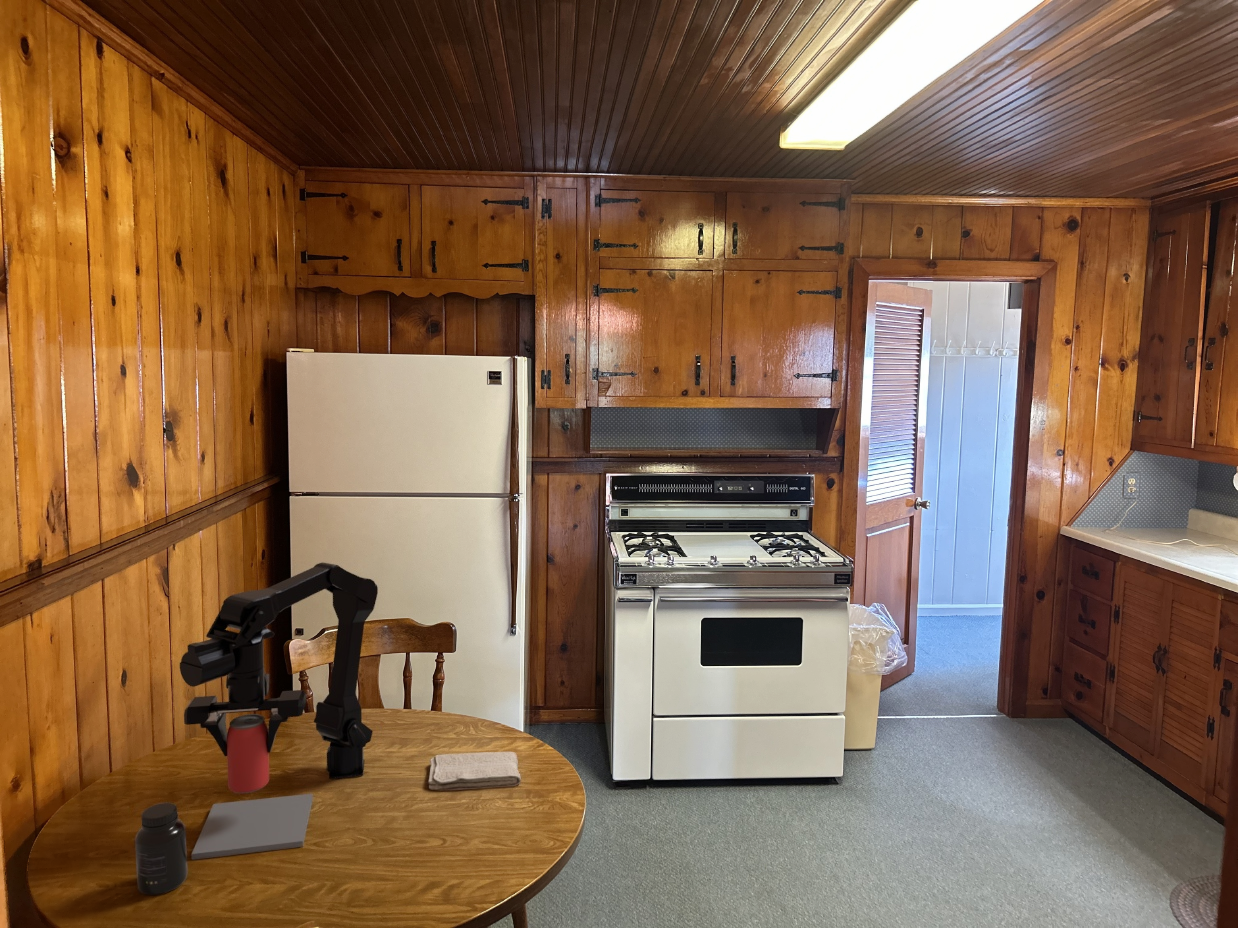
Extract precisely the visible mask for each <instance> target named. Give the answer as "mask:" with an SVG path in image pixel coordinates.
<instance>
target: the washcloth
mask: <svg viewBox="0 0 1238 928" xmlns="http://www.w3.org/2000/svg"><path fill="white" fill-rule="evenodd" d="M429 762H430V771H429V777H428V788H429V790H432V791H433V790H434V791H436V790H437V791H459V790H475V789H477V790H478V789H489V788H505V787H515V786H516V787H517V786H518V785H520V784H521V782H522V777H521V774H520V772H519V770H518V769H519V760H518V755H517V753H516V752H514V751H497V752H495V751H491V752H490V751H487V752H486V751H485V752H469V753H468V752H466V753H464V752H463V753H448V754H447V753H445V754H437V755H434V757H433V758H431V759H430V760H429Z"/></svg>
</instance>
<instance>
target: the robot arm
mask: <svg viewBox="0 0 1238 928" xmlns="http://www.w3.org/2000/svg"><path fill="white" fill-rule="evenodd" d="M378 588H379V587H378V585H377V584H376V583H375V581H374V579H371V578H366V577H362V576H359V575H356V574H354V573H353V572H350V571H348V570H347V569H344V567H341V566H339V565H338V564H334V563H328V562H324V561H323V562H318V563H316V564H315V565H314V566H313V567H311V568H309V569H307V570H304V571H302V572H300V573H298V574H295V575H292V576H291V577H289V578H287V579H284V580H282V581H280V582H278V583H276V584H274V585H271V586H269V587H267V588H263V589H256V590H254V589H253V590H246V591H244V592H243V591H242V592H238V593H236V594H231V595H230V596H229V595H228V597H226V598H225V599H224V600H223V601H222V605H221V607H220V611H219V612H218V613H217V615H216V617H215V619H214V620H213V622H212V624H211V626H210V628H209V629H208V632H207V633H206V635H205V636H206V638H207V639H206V640H203V641H200V642H199V641H198V642H193V643H189V644H188V645H187V651H186V652H185V653H184V654H183V655H182V657H181V660H180V662H179V671H180V675H181V677H182V679H183V681H184V682H185V683H186V684H187V685H188V686H190V687H192V688H193V687H199V686H201V685H203V684H206V683H210V682H211V681H215V680H218V679H220V678H223V677H226V681H225V688H226V689H227V690H228V693H227V694H228V701H220V702H218V697H217V695H207V696H195V697H194V698H192V700H191V701H190V702H189V703H188V705H187V706H186V708H185V709H184V713H183V723H184V724H185V725H187V726H188V725H189V726H190V725H200V726H199V727H200V729H206V730H207V731H208V733H209V734H210V735H211V736H212V737H213V739H214V740H215V742H216V744H217V745H218V747H219V749H220V750H221V752H222V754H223V756H224V757H227V733H228V729H227V714H234V713H236V714H237V713H247V712H248V713H249V712H263V711H265V712H266V711H271V715H270V718H269V720H268V741H267V750H268V753H269V754H270V753H271V752H272V749H273V746H274V742H275V739H276V736H277V732H278V730H279V727H280V726H281V724H282V723H286V722H287V721H288V720H289V718H296V717H297V718H298V717H300V716H303V714H304V711H305V707H306V705H307V694H306V692H305V691H304V690H303V689H297V690H282V692H281V694H280V696H279V697H277V698H275V697H274V698H266V697H265V696H268V694H269V690H270V673H265V672H266V671H265V658H264V651H265V649H264V640H266V639H270V638H273V637H274V636H275V632H274V631H272V630H271V629H269V628H268V627H267V626H268V625H270V624H271V623H272V622H274V621H275V620H276V618H277V616H278V615H279V614H280V613H281V612H282V611H283V610H285V609H287V608H290V607H291V606H293V605H295V604H298V603H299V602H301V601H303V600H305V599H308V598H309V597H311V596H314V595H316V594H318V593H320V592H322V591H323V590H326V591H328V592H330V593H331V594H332V607H333V610H334V611H335V614H336V617H337V620H338V622H337V623H338V624H337V631H336V637H335V638H336V639H335V647H334V655H333V663H332V670H331V671H332V672H331V680H330V686H329V687H330V689H329V693H328V694H327V695H326V697H325V698H324V700H323V701H318V702H317V704H315V705H316V706H315V710H316V712H315V717H314V720H313V723H314V724H315V729H316V731H317V732H318V734H319V735H320V736H321V739H322V740H323V741H324V742H329V746H328V747H327V750H326V772H327V773H328V779H330V780H333V779H343V778H354V777H361V776H364V771H365V759H364V748H366V745H367V744H368V743H370V742H371V740H372V737H373V732H374V731H373V730H372V729H371V728H370V727H368V726H367V725H366V724H364V723H363V722H362V719H363V718H362V715H363V714H362V709H363V708H362V706H361V703H360V702H359V699H358V696H357V685H358V678H359V677H358V675H359V669H360V661H361V652H362V645H363V639H364V638H363V636H364V629H365V623H366V621H367V619H368V618H369V617H370V615H371V614H372V612H373V611H374V609H375V606H376V602H377V598H378V591H379V590H378ZM227 628H230V629H234V630H239V632H236V631H232V630H228V629H227Z"/></svg>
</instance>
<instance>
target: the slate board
mask: <svg viewBox="0 0 1238 928" xmlns="http://www.w3.org/2000/svg"><path fill="white" fill-rule="evenodd" d="M313 795H314V794H313V793H306V794H296V795H288V796H287V795H286V796H277V797H270V798H269V797H268V798H267V797H266V798H258V799H257V798H256V799H250V800H249V799H247V800H239V801H228V802H220V803H218V802H217V803H213V804H212V806H211V809H210V811H209V814H208V816H207V818H206V820H205V823H204V824H203V827H202V830H201V832H200V834H199V837H198V839H197V841H196V843H195V846H194V848H193V850H192V852H191V860H192V861H193V860H202V859H210V858H218V857H226V856H234V855H246V854H254V853H261V852H270V851H277V850H285V849H293V848H302V847H304V844H305V838H306V834H307V829H308V823H309V818H310V814H311V809H312V805H313V800H314V796H313Z"/></svg>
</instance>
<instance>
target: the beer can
mask: <svg viewBox="0 0 1238 928" xmlns="http://www.w3.org/2000/svg"><path fill="white" fill-rule="evenodd" d="M265 719H266V718H265V717H264V716H263V715H261V714H258V713H250V714H243V715H240V716H237V717H235V718H233V719H232V720H231V721H230V722H229V727H228V729H227V756H226V759H227V761H226V762H227V764H226V765H227V787H228V788H229V790H230V791H231V792H233V793H235V794H250V793H255V792H257V791H259V790H262V789H263V788H265V787H266V786H267V784H268V783H269V781H270V761H269V758H270V757H269V756H270V755H269V754H270V753H268V750H267V741H268V728H269V726H268V725H267V723H266V721H265Z"/></svg>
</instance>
